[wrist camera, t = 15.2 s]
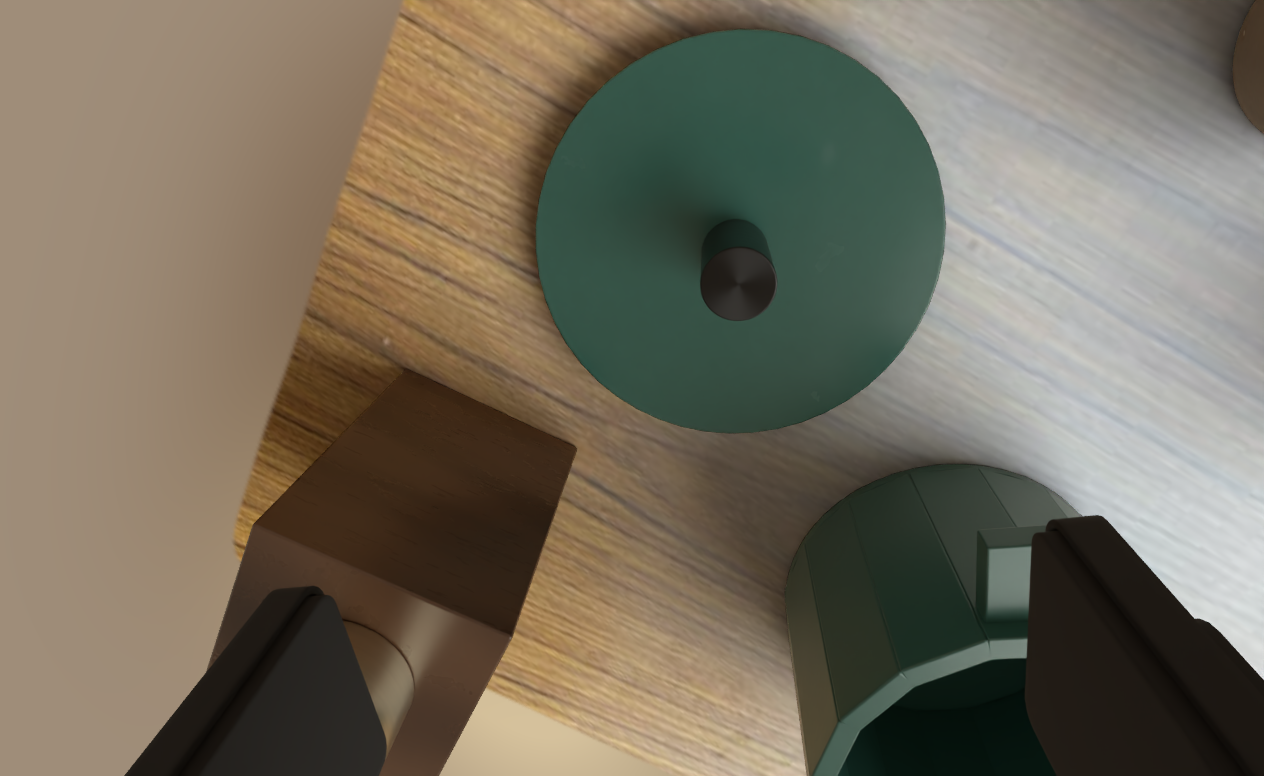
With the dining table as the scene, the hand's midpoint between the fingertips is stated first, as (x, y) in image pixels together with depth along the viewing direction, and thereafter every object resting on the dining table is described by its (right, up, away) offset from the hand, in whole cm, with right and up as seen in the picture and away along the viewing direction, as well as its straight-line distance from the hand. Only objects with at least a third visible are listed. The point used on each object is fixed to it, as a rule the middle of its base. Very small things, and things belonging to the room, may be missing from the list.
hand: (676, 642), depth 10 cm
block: (-8, -1, +24) cm, 26 cm away
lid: (+3, +9, +19) cm, 21 cm away
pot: (+13, -6, +24) cm, 28 cm away
